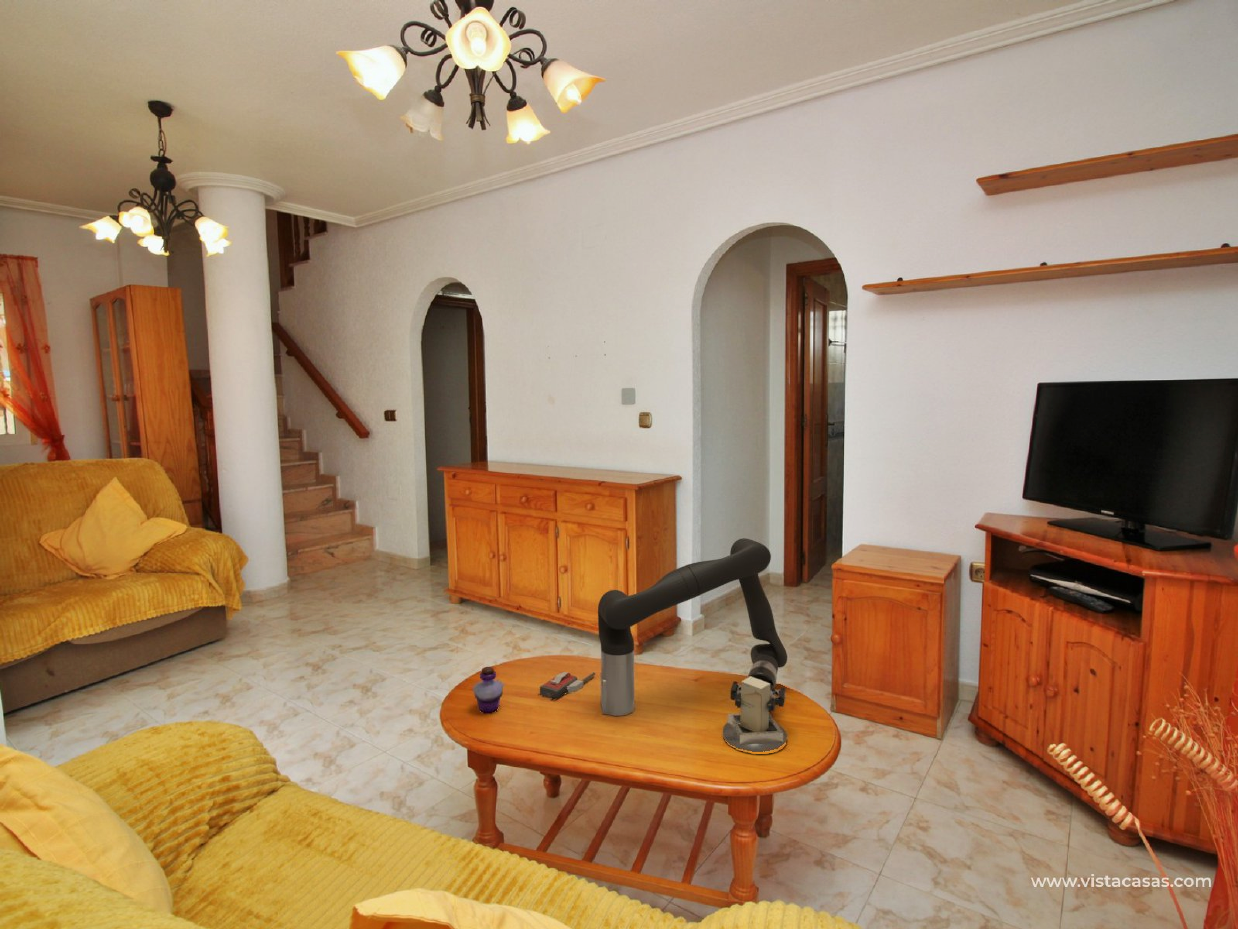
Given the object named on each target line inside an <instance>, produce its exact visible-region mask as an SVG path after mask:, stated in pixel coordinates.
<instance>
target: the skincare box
mask: <svg viewBox="0 0 1238 929" xmlns="http://www.w3.org/2000/svg"><path fill="white" fill-rule="evenodd" d="M740 685H741V707H740V726H742V727H744V728H746V729H749V730H751V731H753V732H764V731H766V730H767V729H768V728H769V712H768V705H769V700H770V683H767V682H765V681H762V680H760V679H757V678H754V677H751V676H750V677H748V676H747V677H746V678H744V679H743V680H741V684H740Z"/></svg>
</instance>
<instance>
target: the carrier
mask: <svg viewBox="0 0 1238 929" xmlns="http://www.w3.org/2000/svg"><path fill="white" fill-rule="evenodd" d="M723 736H724V739H725V740H726V741H727V742H728V743H729V744H730V745H732V746H735V747H736V748H738V749H743V750H747V751H752V752H763V751H764V752H765V751H770V750H774V749H778V748H779V747H780V746H782V745H783V744H784V743H785V742H786V739H787V738H788V734H787V732H786V730H785V729H784V728H783V727H782V726H781V725H779V723H777V721H776V720H775V718H774V717H773V716H772V714H771V713H769V728H768V729H767V730H766V731H764V732H753V731H751V730H749V729H746V728H744V727H742V726H740V713H739V712H738V713H728V714H727V722H726V723H725V724H724V725H723V728H722V737H723ZM724 739H723V740H724ZM787 740H788V739H787Z"/></svg>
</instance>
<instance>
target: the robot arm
mask: <svg viewBox="0 0 1238 929" xmlns="http://www.w3.org/2000/svg"><path fill="white" fill-rule="evenodd" d="M729 551H730V552H729V555H727V556H724V557H722V558H718V559H711V560H710V559H709V560H702V561H697V562H692V563H688V564H685V565H683V566H681V567H678V568H676V569H673V570H671V571H669V572H668V573H666V574H664V575H663V576H662V577H661V578H659V580H658V581H656V582H655V583H654V584H653V585H652V586H650V587H649V588H647V589H645V590H642V591H640V592H637V593H634V594H631V595H628V594H626V593H624V591H622V590H618V589H611V590H608V591H606V592H605V593H604V594H602V596H601V597H600V599H599V601H598V602H599V603H598V606H597V622H598V623H597V625H598V627H597V628H598V637H599V641H600V671H601V672H600V708H601V713H602V715H608V716H614V717H615V716H616V717H620V716H626V715H630V714H631V713H633V712H634V711H635V702H636V701H635V640H634V637H633V635H632V629H631V627H633V626H635V625H637V624H639V623H640V622H642V621H644V620H646V619H648V618H650V617H652V616H653V615H656V614H657V613H660V612H662V611H665V610H668V609H669V608H673V607H674V606H677V605H679V604H682V603H685V602H687V601H690V600H693V599H695V598H697V597H699V596H702V595H703V594H706V593H708V592H710V591H712V590H716V589H717V588H720V587H721V586H724V585H727V584H729V583H731V582H735V581H737V580H738V581H739V585H740V588H741V591H742V594H743V598H744V601H745V606H746V608H747V609H746V610H747V615H748V620H749V624H750V628H751V629H750V630H751V634H752V637H753V638H754V639H755V640H759V641H765V642H767V643H758V644H754V645H753V647H752V648H751V649H750V658H751V663H752V666H751V668H750V670H749V672H748V675H747V678H748V677H750V676H751V677H754V678H757V679H760V680H762V681H765V682H767V683H770V700H769V705H768V712H769V713H770V714H771V713H772V712H774V711H775V710H776V707H777V706H778V707H780V708H783V707H784V705H785V700H786V687H781V688H780V689H776V688H775V687H776V685H777V678H778V677H777V675H778V671H779V669H780V668H781V669H782V668H784V667H785V666H786V664H787V663H788V653H787V650H786V648H785V646H784V645H783V642H782V641H781V639H780V637H779V635H778V632H777V629H776V624H775V618H774V614H773V609H772V606H771V604H770V602H769V600H768V598H767V595H766V593H765V590H764V588H763V586H762V584H761V583H762V582H761V580H760V576H759V574H760V573H762V572H764V571H765V570H766V569H767V568H768V566H769V564H770V562H771V559H772V554H771V551H770V549H769V548H768V547H767V546H766V545H764V544H762V543H761V542H759V541H756V540H753V539H750V538H745V537H743V538H739V539H737V540H736V541H735V542H733V544H732V545H731V548H730V550H729ZM731 700H732V701H734V706H735V707H736V708H737V709H741V684H739V682H738V681H733V682H732V685H731V687H730V701H731Z"/></svg>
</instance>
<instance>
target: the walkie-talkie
mask: <svg viewBox="0 0 1238 929" xmlns="http://www.w3.org/2000/svg"><path fill="white" fill-rule="evenodd" d="M595 675H596V672H592V673H590V674H589V675H588V676H586V677H585V678H583V679H578V677H577V676H576V675H571V673H570V672H568V671H567V672H566V671H562V672H560V673H558V674H557V675H555V676H554V677H553V678H552V679H550V680H548V681H547V682H546V683H544V684H542V685H540V686H539V695H542V696H541V697H543V698H544V697H545V698H548V699H551V698H552V699H551V700H554V699H555V700H558V698H561V697H563V696H564V695H566V694H572V692H573V693H577V691H579V690H581V689H582V688H584V684H585V683H586V682H588V681H589V680H591V679H592V678H593V677H594V676H595ZM580 688H581V689H580ZM565 693H566V694H565ZM562 695H563V696H562Z"/></svg>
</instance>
